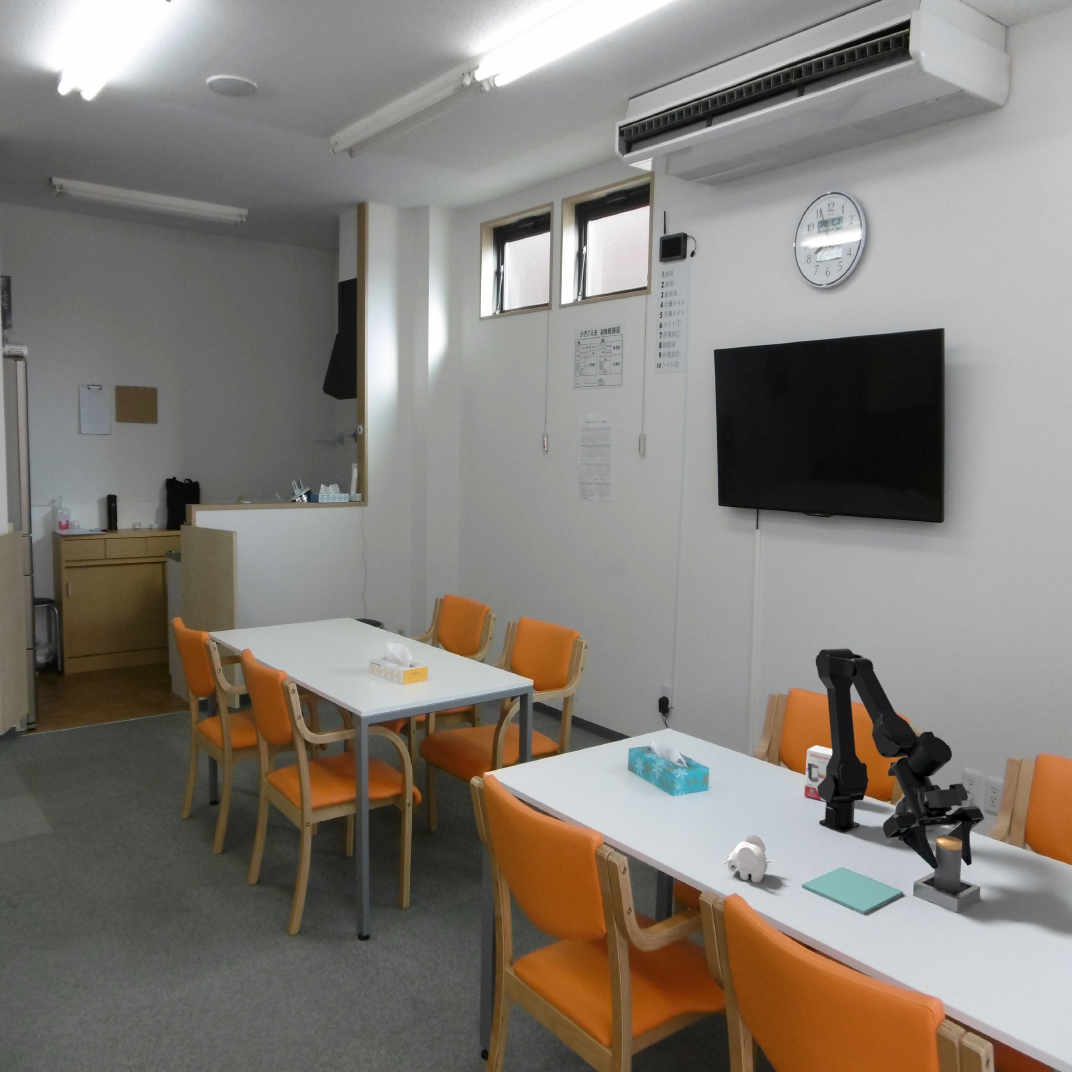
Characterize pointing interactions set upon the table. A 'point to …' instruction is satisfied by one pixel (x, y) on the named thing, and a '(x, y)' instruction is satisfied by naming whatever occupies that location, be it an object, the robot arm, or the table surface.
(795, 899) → the table surface
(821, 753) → the ink box
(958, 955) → the table surface
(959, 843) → the grey orange domed cylinder
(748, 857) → the elephant figurine
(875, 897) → the teal mat
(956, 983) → the table surface
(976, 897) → the collar
